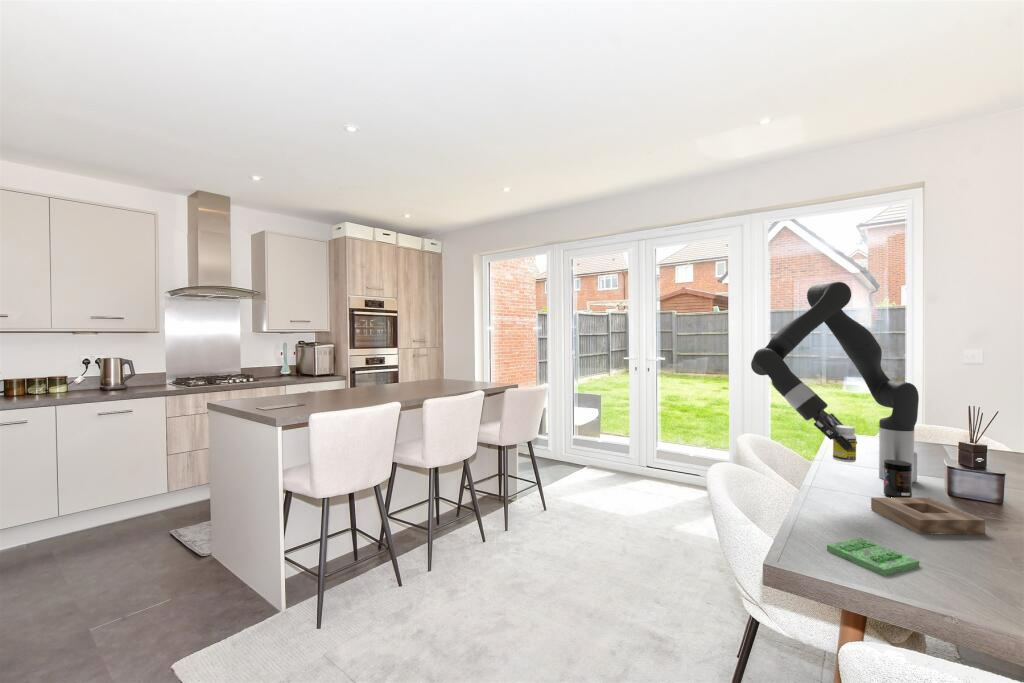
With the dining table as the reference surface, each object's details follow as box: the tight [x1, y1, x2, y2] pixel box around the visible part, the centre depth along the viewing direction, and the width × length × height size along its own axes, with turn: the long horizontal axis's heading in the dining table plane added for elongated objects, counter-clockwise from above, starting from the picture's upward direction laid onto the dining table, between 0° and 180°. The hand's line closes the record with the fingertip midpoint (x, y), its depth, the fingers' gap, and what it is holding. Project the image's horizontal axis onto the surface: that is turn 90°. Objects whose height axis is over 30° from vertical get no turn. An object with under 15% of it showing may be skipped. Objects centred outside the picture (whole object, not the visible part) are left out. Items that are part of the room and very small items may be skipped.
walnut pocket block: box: [870, 497, 986, 535], centre depth 124 cm, size 16×16×4 cm
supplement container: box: [883, 460, 913, 498], centre depth 143 cm, size 7×7×10 cm
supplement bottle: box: [832, 424, 857, 463], centre depth 137 cm, size 6×6×10 cm
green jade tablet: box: [826, 537, 920, 577], centre depth 104 cm, size 11×12×2 cm
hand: (851, 446), depth 136 cm, fingers closed on supplement bottle, 5 cm apart
